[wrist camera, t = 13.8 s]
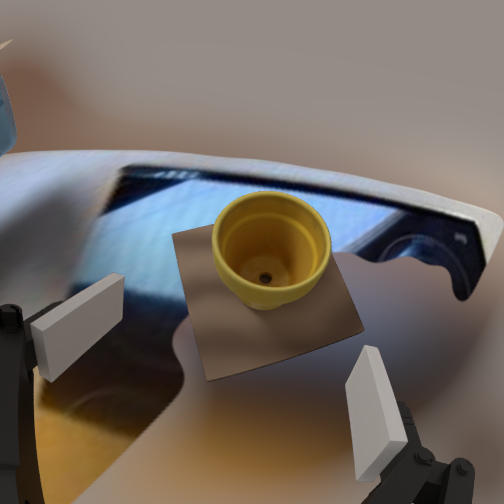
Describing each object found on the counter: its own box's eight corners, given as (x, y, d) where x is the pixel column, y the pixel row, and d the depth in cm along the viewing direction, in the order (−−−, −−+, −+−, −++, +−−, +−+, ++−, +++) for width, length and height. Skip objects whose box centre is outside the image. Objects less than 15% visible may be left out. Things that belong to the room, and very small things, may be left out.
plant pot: (275, 228, 38) (286, 174, 30) (326, 295, 34) (355, 254, 26) (200, 267, 35) (190, 218, 27) (248, 344, 31) (254, 317, 23)
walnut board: (173, 239, 38) (171, 234, 37) (305, 208, 41) (307, 203, 40) (208, 382, 30) (207, 381, 29) (361, 332, 33) (364, 330, 32)
